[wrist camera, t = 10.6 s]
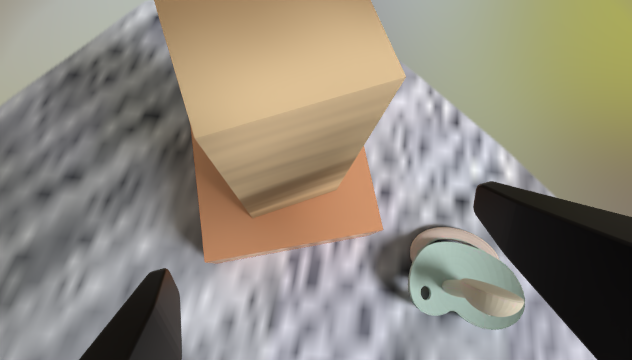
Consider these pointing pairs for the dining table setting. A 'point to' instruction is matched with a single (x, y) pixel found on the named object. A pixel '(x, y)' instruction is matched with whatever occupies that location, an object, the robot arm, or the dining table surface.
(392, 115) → the dining table surface
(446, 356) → the dining table surface
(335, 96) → the birch block
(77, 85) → the dining table surface
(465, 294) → the pacifier
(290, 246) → the terracotta block
